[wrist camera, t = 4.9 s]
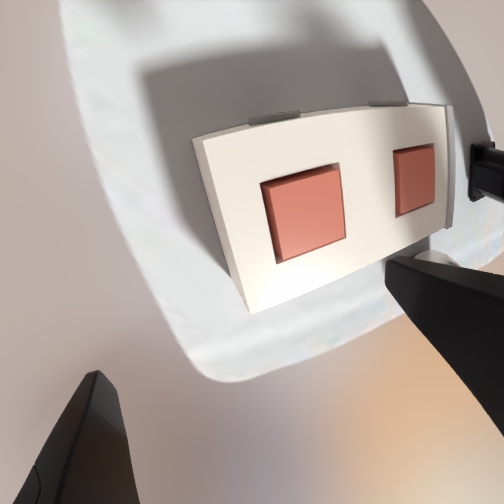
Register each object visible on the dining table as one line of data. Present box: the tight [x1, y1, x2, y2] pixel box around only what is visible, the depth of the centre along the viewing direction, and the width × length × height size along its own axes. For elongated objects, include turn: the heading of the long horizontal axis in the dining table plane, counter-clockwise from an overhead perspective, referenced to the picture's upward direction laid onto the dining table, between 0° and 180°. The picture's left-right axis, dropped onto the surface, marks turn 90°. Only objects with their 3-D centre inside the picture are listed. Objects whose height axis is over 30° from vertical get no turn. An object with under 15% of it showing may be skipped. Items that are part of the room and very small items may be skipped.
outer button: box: [259, 166, 345, 260], centre depth 14 cm, size 4×4×2 cm
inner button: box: [393, 145, 435, 214], centre depth 15 cm, size 4×4×2 cm
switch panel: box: [192, 101, 455, 315], centre depth 16 cm, size 17×9×4 cm, turn 101°
